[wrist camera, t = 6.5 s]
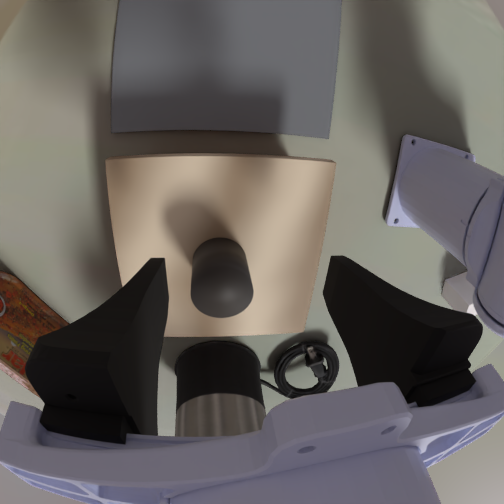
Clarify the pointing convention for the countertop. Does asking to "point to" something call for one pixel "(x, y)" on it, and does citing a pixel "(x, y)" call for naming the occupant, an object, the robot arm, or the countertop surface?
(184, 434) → the milk frother
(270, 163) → the birch lid
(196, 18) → the slate mat
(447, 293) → the napkin holder
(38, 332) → the tin
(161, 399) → the countertop surface
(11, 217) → the countertop surface
